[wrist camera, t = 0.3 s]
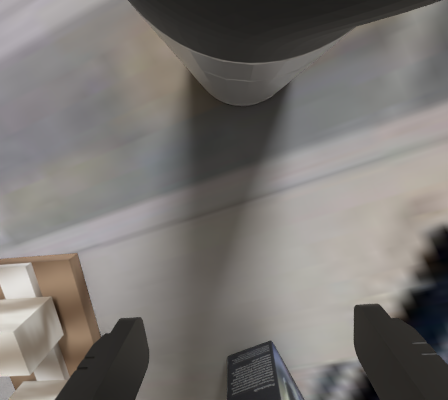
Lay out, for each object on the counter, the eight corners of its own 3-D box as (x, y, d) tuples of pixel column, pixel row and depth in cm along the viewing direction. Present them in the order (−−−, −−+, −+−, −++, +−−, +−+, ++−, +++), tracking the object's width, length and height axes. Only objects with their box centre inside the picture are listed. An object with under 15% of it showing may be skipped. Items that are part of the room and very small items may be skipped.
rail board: (-23, 260, 30) (-102, 302, 23) (77, 253, 29) (26, 293, 22) (38, 414, 36) (-9, 484, 29) (122, 412, 36) (93, 483, 29)
